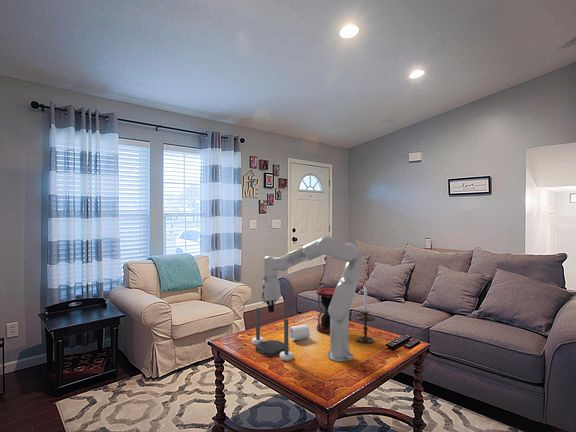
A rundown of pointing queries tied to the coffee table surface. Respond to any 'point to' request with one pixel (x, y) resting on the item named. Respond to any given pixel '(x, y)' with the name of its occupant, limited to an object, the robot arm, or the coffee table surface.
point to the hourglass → (325, 300)
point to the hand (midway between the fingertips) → (271, 311)
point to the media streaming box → (270, 348)
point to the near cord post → (286, 344)
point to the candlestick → (365, 321)
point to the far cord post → (257, 329)
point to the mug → (299, 332)
